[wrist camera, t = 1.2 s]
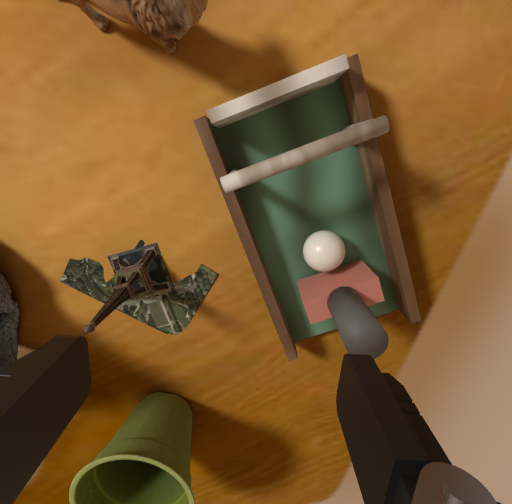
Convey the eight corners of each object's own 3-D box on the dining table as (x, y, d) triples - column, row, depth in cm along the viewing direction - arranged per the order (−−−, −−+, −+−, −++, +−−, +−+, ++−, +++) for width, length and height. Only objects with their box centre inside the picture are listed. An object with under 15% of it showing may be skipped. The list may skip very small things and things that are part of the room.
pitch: (343, 67, 29) (384, 26, 20) (403, 301, 36) (454, 354, 27) (201, 124, 30) (177, 112, 21) (285, 338, 37) (294, 400, 28)
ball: (333, 220, 32) (343, 229, 28) (344, 256, 33) (355, 269, 29) (295, 233, 32) (300, 244, 29) (307, 268, 34) (313, 283, 30)
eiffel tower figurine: (60, 279, 36) (-48, 350, 23) (93, 201, 33) (-9, 232, 21) (180, 338, 38) (141, 431, 25) (220, 269, 35) (198, 335, 23)
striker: (360, 256, 33) (411, 309, 22) (367, 282, 34) (420, 345, 23) (295, 278, 34) (313, 339, 23) (304, 302, 34) (325, 373, 23)
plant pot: (227, 399, 40) (216, 489, 29) (184, 460, 43) (160, 562, 33) (142, 358, 38) (97, 438, 28) (103, 424, 42) (50, 519, 31)
